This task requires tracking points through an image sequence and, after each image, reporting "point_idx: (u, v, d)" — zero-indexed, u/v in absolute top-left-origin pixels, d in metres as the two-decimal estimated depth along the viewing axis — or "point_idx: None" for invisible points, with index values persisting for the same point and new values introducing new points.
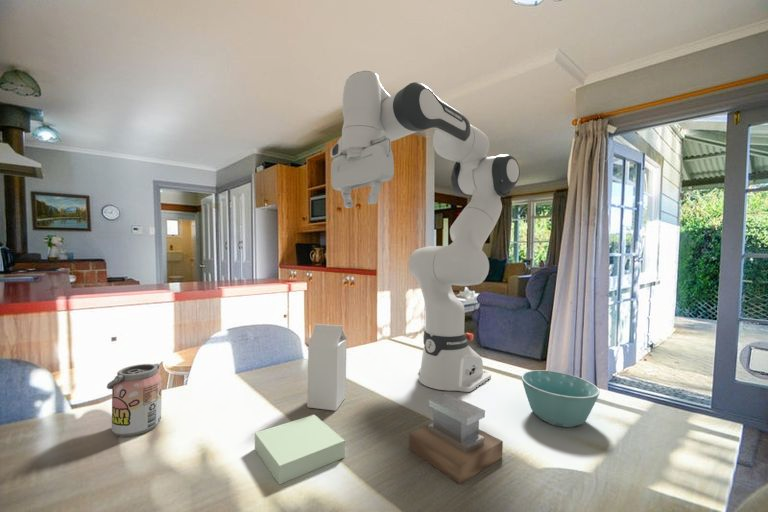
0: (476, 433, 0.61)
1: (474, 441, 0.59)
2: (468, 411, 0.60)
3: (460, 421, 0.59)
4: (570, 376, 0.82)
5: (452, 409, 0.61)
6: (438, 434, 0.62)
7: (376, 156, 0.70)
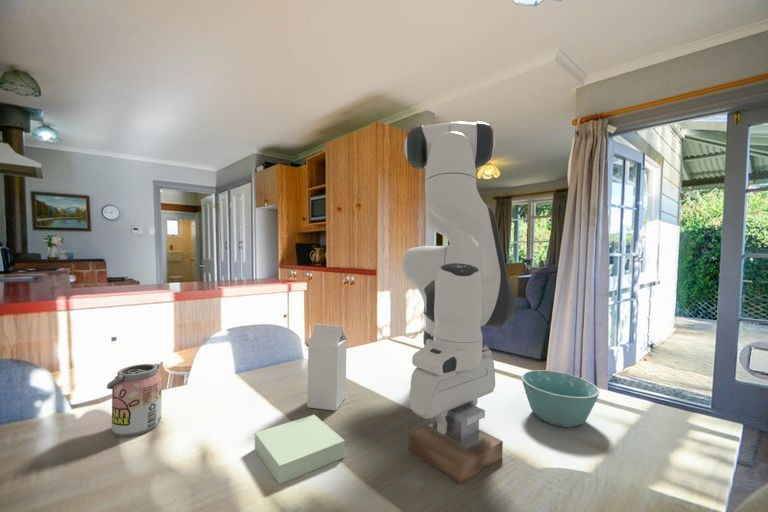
0: (476, 433, 0.61)
1: (474, 441, 0.59)
2: (468, 411, 0.60)
3: (460, 421, 0.59)
4: (570, 376, 0.82)
5: (452, 409, 0.61)
6: (438, 434, 0.62)
7: (490, 370, 0.66)
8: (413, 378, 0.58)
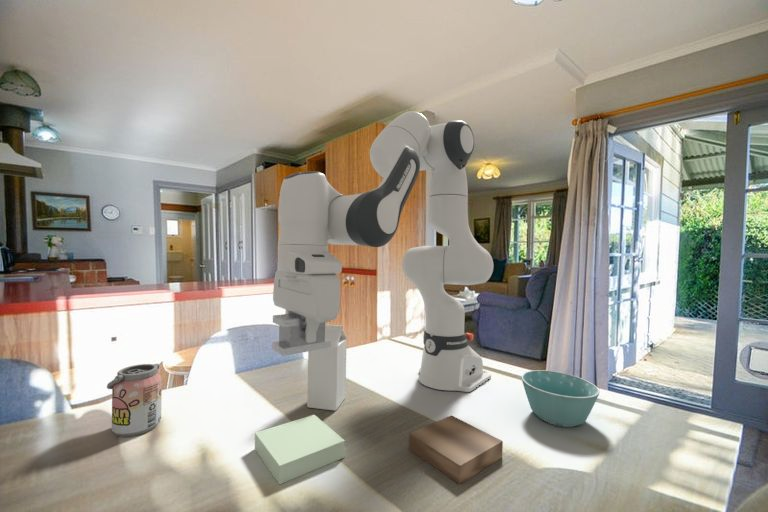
0: None
1: None
2: None
3: (324, 321, 0.61)
4: (570, 376, 0.82)
5: None
6: (297, 350, 0.58)
7: None
8: (319, 284, 0.53)
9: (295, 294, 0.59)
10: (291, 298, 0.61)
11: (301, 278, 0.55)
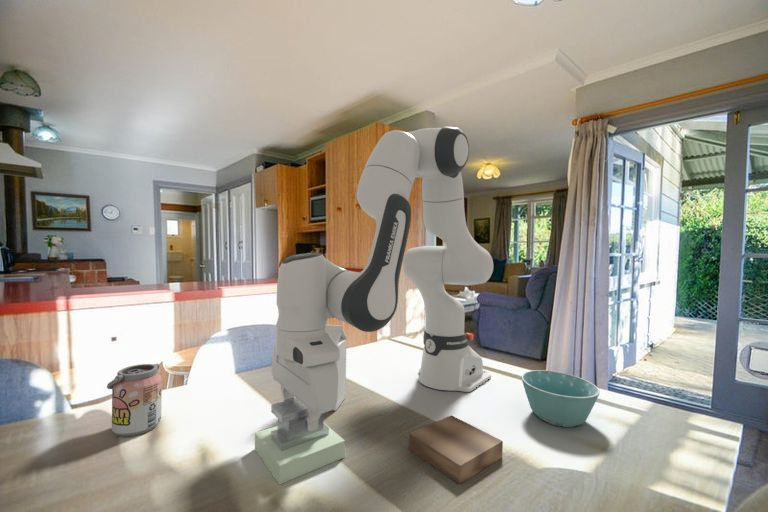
0: None
1: None
2: None
3: None
4: (570, 376, 0.82)
5: None
6: (296, 443, 0.59)
7: None
8: (316, 378, 0.53)
9: (293, 378, 0.59)
10: (289, 379, 0.61)
11: (299, 367, 0.55)
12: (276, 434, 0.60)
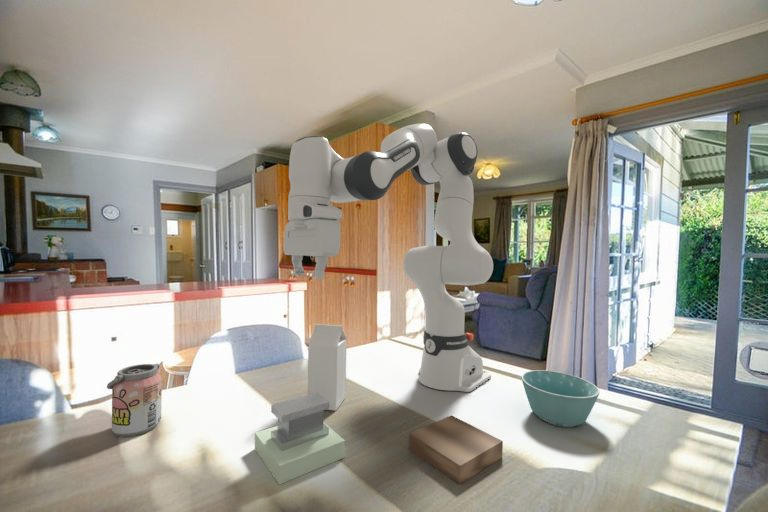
0: None
1: None
2: (316, 399, 0.63)
3: (322, 409, 0.62)
4: (570, 376, 0.82)
5: (310, 406, 0.61)
6: (296, 443, 0.59)
7: None
8: (323, 225, 0.64)
9: (303, 239, 0.71)
10: (299, 243, 0.72)
11: (308, 222, 0.67)
12: (276, 434, 0.60)
